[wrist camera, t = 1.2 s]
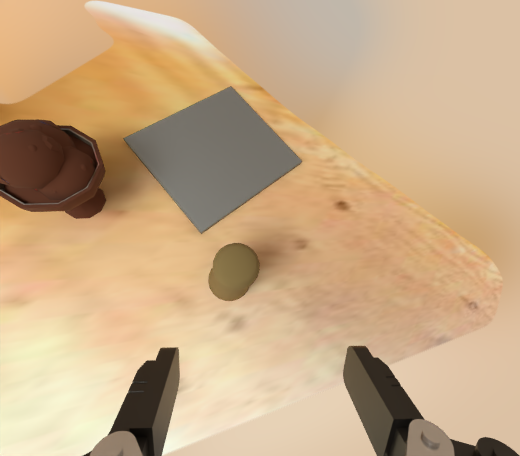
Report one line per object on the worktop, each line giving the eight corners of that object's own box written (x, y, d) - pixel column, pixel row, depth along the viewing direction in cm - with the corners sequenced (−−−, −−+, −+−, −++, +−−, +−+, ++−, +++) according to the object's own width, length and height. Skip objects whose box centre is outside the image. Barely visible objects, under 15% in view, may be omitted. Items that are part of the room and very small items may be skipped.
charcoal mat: (201, 233, 39) (201, 232, 39) (124, 140, 42) (123, 138, 42) (300, 163, 47) (301, 161, 47) (230, 88, 50) (231, 86, 49)
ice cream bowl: (141, 205, 39) (104, 140, 25) (67, 252, 35) (-25, 205, 21) (99, 156, 40) (43, 69, 27) (23, 196, 36) (-89, 117, 22)
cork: (206, 261, 38) (206, 238, 28) (247, 256, 39) (261, 233, 29) (210, 303, 36) (211, 296, 26) (253, 297, 37) (270, 287, 27)
